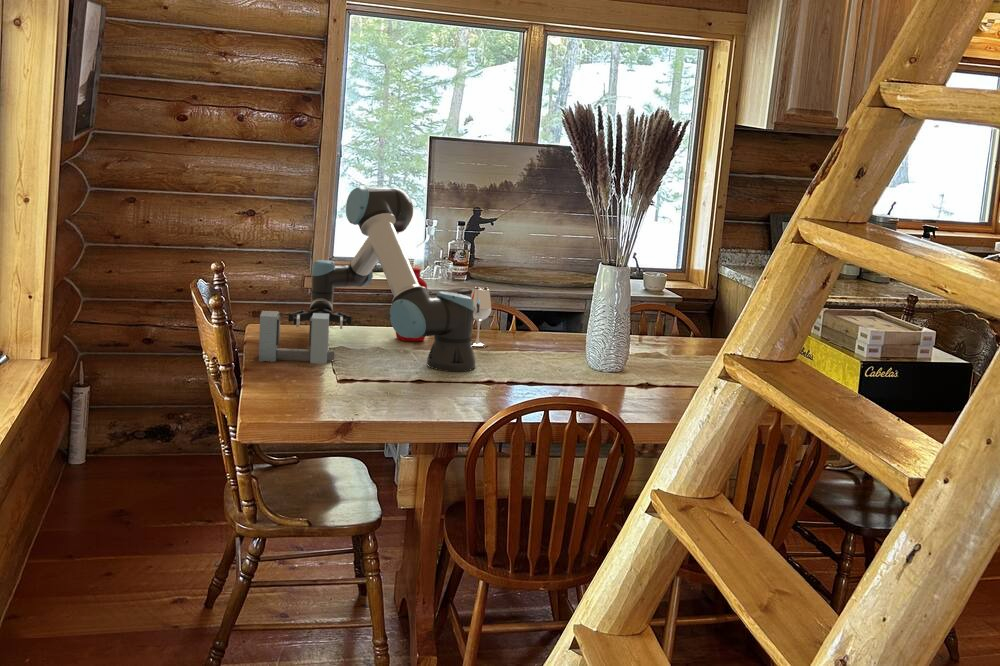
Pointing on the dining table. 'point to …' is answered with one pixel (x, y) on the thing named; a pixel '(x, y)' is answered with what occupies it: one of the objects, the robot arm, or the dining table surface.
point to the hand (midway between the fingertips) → (319, 323)
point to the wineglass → (480, 308)
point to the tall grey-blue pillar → (319, 338)
